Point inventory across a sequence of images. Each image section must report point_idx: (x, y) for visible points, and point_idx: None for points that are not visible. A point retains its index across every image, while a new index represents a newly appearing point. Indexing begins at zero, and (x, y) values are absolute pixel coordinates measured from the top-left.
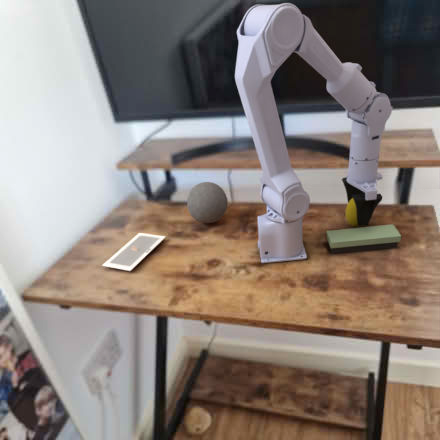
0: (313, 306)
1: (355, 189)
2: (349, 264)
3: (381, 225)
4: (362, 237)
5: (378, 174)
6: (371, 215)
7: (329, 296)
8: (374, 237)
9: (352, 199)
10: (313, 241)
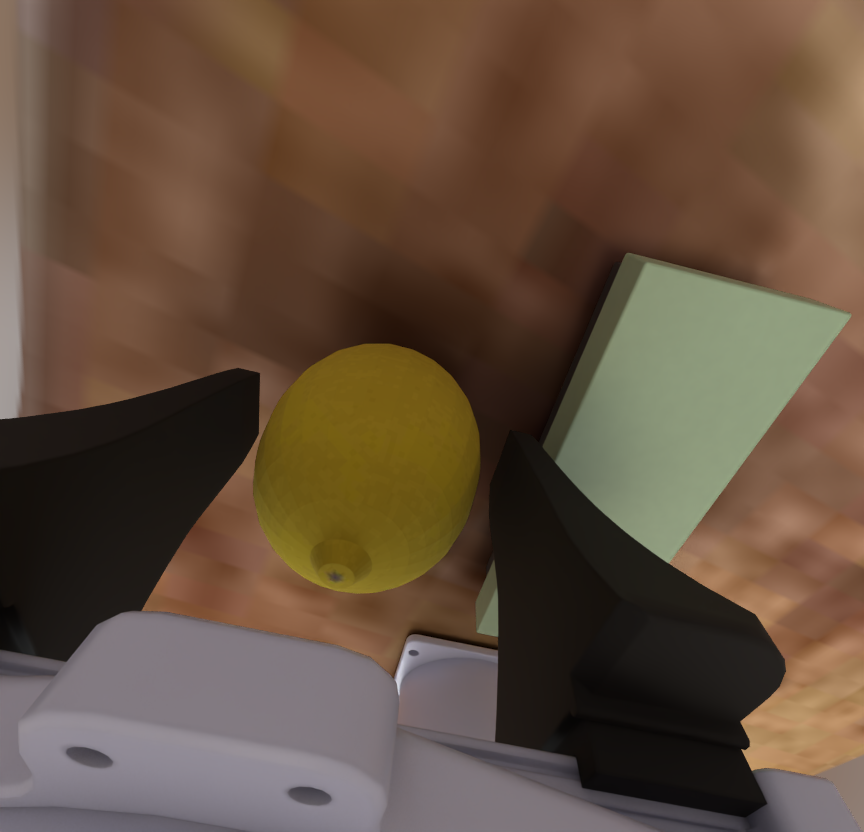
0: (815, 724)
1: (140, 529)
2: (698, 566)
3: (601, 361)
4: (659, 537)
5: (155, 778)
6: (567, 481)
7: (814, 683)
8: (712, 484)
9: (327, 587)
10: (436, 598)
